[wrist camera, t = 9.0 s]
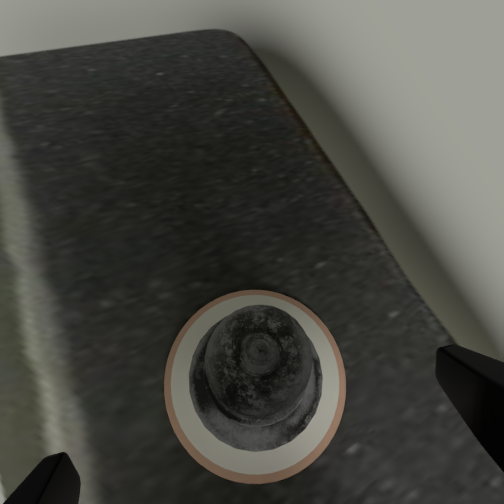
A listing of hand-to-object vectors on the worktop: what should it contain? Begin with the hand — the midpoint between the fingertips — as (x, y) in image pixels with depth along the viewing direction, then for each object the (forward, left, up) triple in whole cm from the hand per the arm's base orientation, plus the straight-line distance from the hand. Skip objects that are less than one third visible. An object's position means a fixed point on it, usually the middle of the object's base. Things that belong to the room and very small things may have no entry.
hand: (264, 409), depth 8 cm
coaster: (+1, -1, -12) cm, 12 cm away
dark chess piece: (+1, -1, -11) cm, 11 cm away
